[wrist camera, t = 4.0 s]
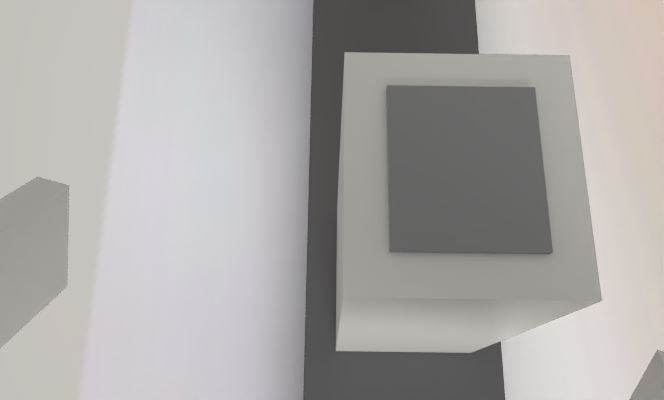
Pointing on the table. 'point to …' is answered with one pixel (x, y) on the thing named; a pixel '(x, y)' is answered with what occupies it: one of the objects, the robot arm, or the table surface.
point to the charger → (459, 201)
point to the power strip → (325, 130)
